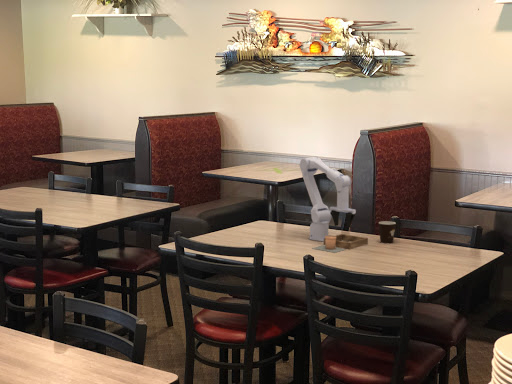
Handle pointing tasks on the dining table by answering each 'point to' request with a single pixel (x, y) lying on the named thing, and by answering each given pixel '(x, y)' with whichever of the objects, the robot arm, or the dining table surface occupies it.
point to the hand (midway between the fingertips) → (342, 226)
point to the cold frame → (354, 240)
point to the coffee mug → (387, 231)
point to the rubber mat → (328, 249)
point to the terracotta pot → (330, 242)
